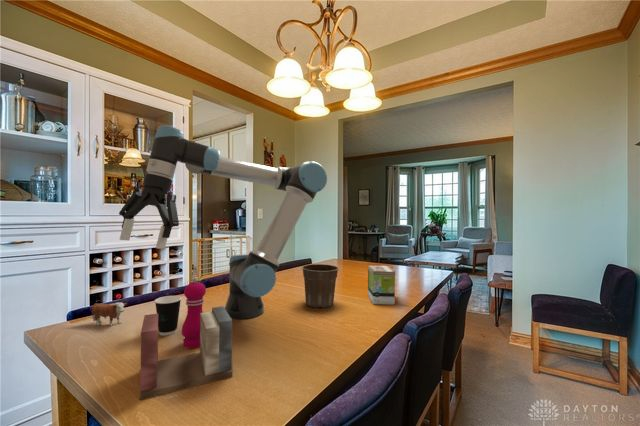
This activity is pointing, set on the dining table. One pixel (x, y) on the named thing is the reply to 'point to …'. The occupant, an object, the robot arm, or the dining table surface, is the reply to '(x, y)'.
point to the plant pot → (320, 284)
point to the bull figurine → (107, 312)
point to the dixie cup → (168, 314)
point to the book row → (187, 356)
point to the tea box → (381, 284)
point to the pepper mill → (193, 313)
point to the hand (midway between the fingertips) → (141, 244)
